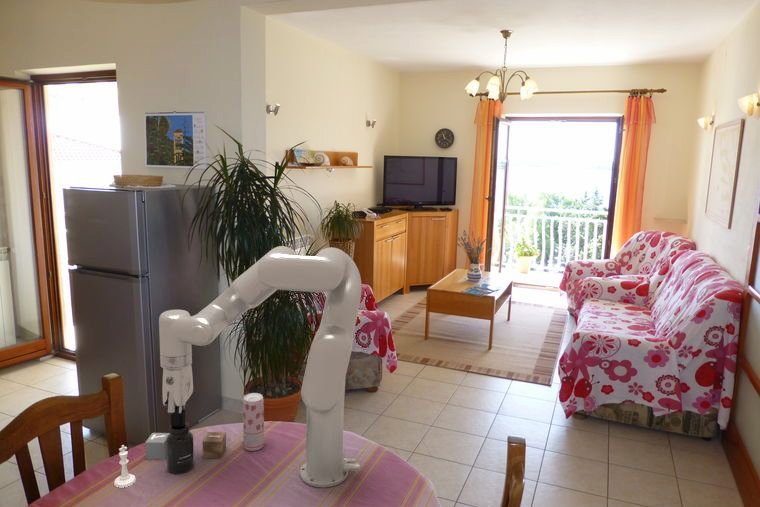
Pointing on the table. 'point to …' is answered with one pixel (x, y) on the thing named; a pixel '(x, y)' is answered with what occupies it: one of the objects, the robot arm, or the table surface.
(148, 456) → the slate-grey numbered block
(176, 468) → the supplement bottle
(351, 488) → the table surface
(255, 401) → the beverage can
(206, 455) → the walnut numbered block
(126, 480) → the chess piece
